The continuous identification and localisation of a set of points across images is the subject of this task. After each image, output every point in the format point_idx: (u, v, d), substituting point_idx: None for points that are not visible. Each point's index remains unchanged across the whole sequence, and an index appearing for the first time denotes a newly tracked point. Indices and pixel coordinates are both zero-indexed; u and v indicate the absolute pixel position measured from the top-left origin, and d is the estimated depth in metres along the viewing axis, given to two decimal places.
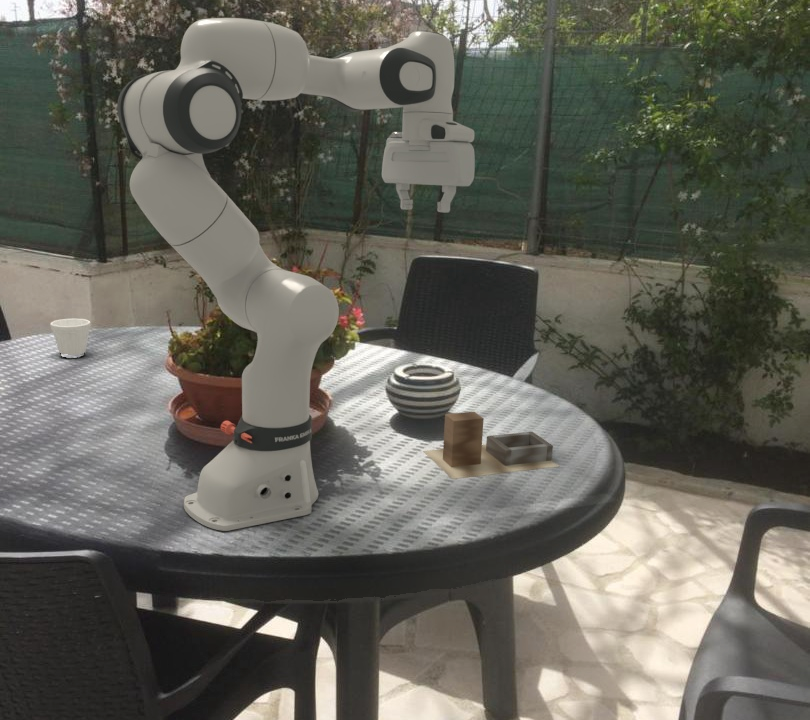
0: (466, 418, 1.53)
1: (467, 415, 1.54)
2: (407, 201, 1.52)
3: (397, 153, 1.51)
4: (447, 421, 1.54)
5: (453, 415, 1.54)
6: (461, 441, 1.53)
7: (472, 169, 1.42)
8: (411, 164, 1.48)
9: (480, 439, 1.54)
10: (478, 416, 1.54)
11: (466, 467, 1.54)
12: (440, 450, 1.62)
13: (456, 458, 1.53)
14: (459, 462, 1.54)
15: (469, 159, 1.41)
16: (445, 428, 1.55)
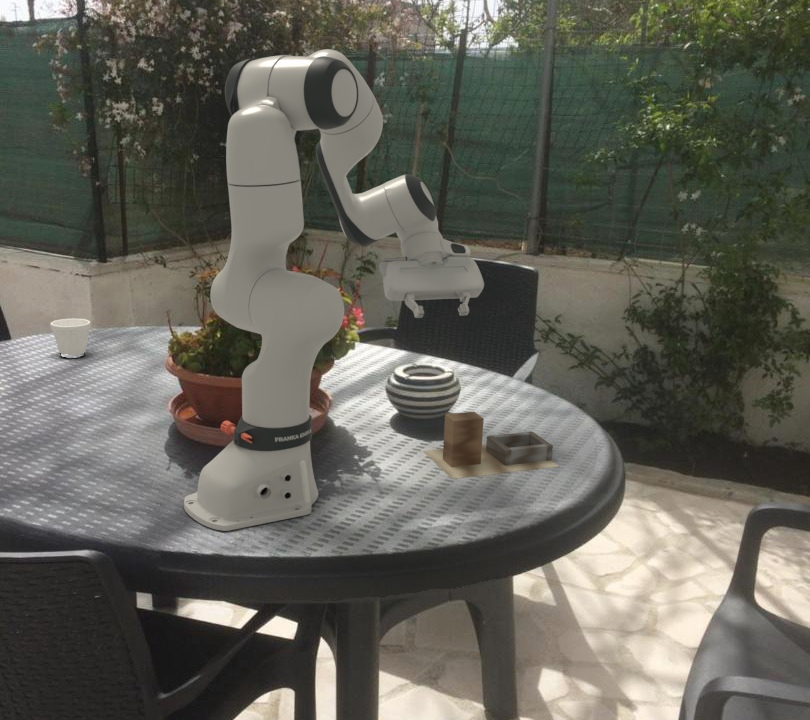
0: (466, 418, 1.53)
1: (467, 415, 1.54)
2: None
3: (404, 269, 1.62)
4: (447, 421, 1.54)
5: (453, 415, 1.54)
6: (461, 441, 1.53)
7: None
8: (426, 275, 1.62)
9: (480, 439, 1.54)
10: (478, 416, 1.54)
11: (466, 467, 1.54)
12: (440, 450, 1.62)
13: (456, 458, 1.53)
14: (459, 462, 1.54)
15: None
16: (445, 428, 1.55)
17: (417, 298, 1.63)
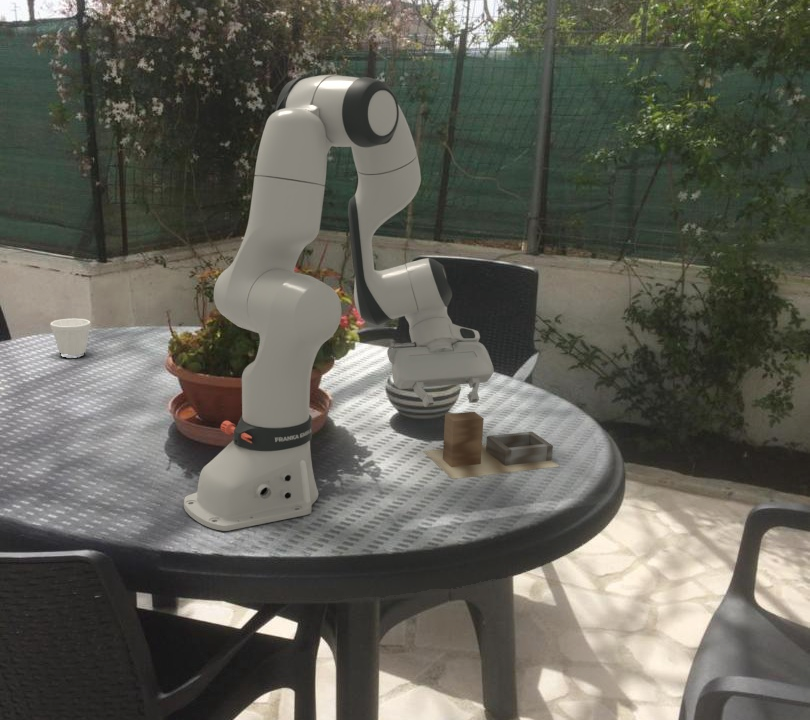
0: (466, 418, 1.53)
1: (467, 415, 1.54)
2: None
3: (413, 356, 1.60)
4: (447, 421, 1.54)
5: (453, 415, 1.54)
6: (461, 441, 1.53)
7: None
8: (435, 363, 1.61)
9: (480, 439, 1.54)
10: (478, 416, 1.54)
11: (466, 467, 1.54)
12: (440, 450, 1.62)
13: (456, 458, 1.53)
14: (459, 462, 1.54)
15: None
16: (445, 428, 1.55)
17: (426, 385, 1.61)
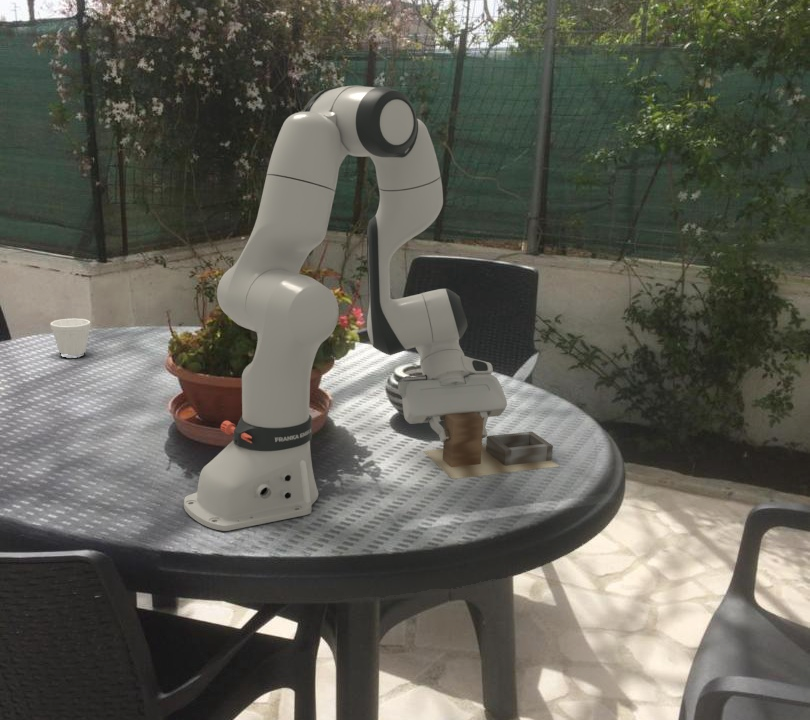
0: (466, 418, 1.53)
1: (467, 415, 1.54)
2: None
3: (424, 390, 1.56)
4: (447, 421, 1.54)
5: (453, 415, 1.54)
6: (461, 441, 1.53)
7: None
8: (447, 396, 1.56)
9: (480, 439, 1.54)
10: (478, 416, 1.54)
11: (466, 467, 1.54)
12: (440, 450, 1.62)
13: (456, 458, 1.53)
14: (459, 462, 1.54)
15: None
16: (445, 428, 1.55)
17: None
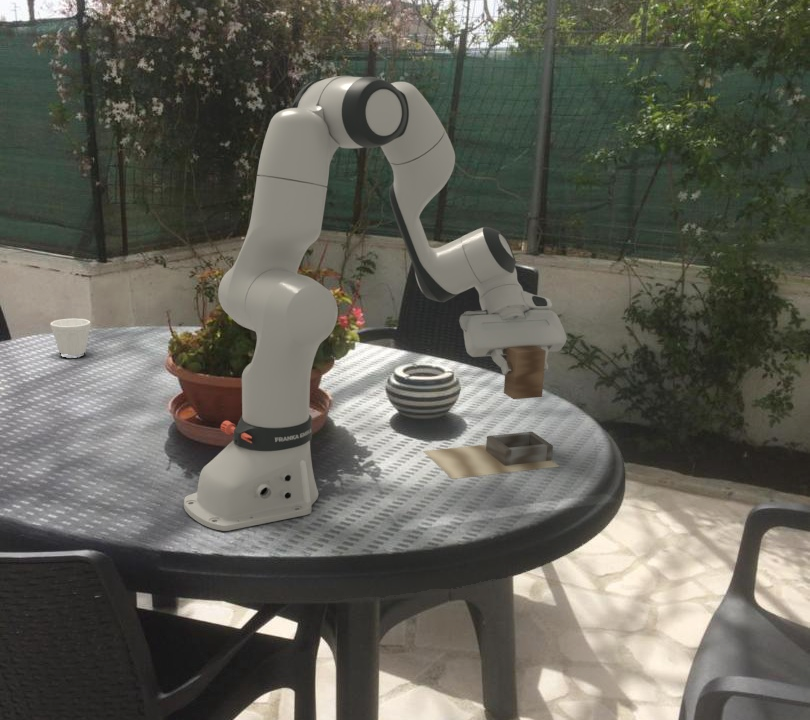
0: (529, 350, 1.54)
1: (529, 348, 1.55)
2: None
3: (486, 323, 1.57)
4: (509, 354, 1.55)
5: (515, 348, 1.55)
6: (524, 373, 1.54)
7: None
8: (508, 330, 1.57)
9: (542, 372, 1.55)
10: (540, 349, 1.55)
11: (466, 467, 1.54)
12: (440, 450, 1.62)
13: (519, 390, 1.55)
14: (521, 394, 1.55)
15: None
16: (507, 361, 1.56)
17: None
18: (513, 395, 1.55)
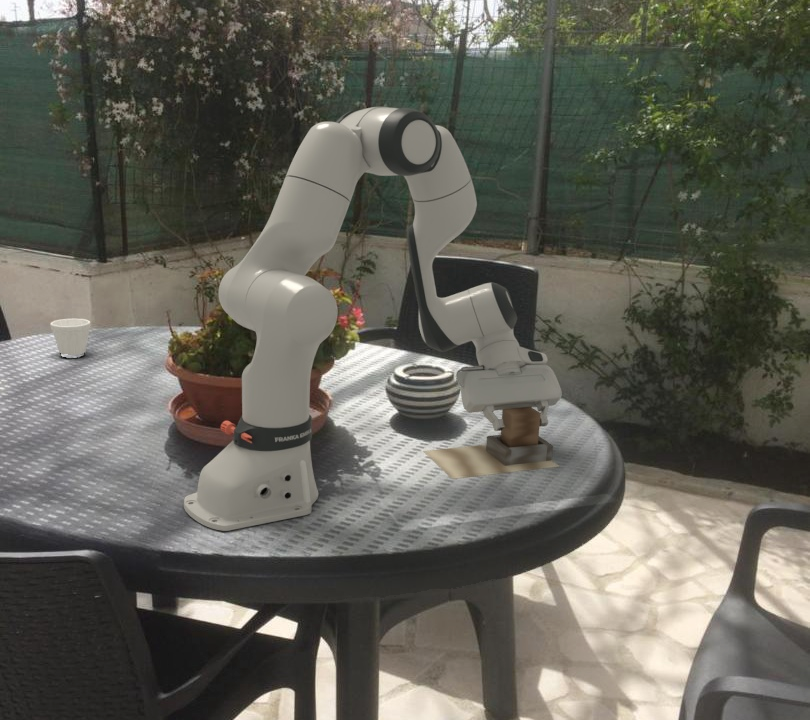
0: (524, 413, 1.57)
1: (524, 410, 1.59)
2: None
3: (483, 379, 1.60)
4: (504, 416, 1.58)
5: (510, 410, 1.58)
6: (519, 435, 1.57)
7: None
8: (504, 386, 1.60)
9: (537, 433, 1.58)
10: (535, 411, 1.58)
11: (466, 467, 1.54)
12: (440, 450, 1.62)
13: None
14: None
15: None
16: None
17: (495, 409, 1.60)
18: None
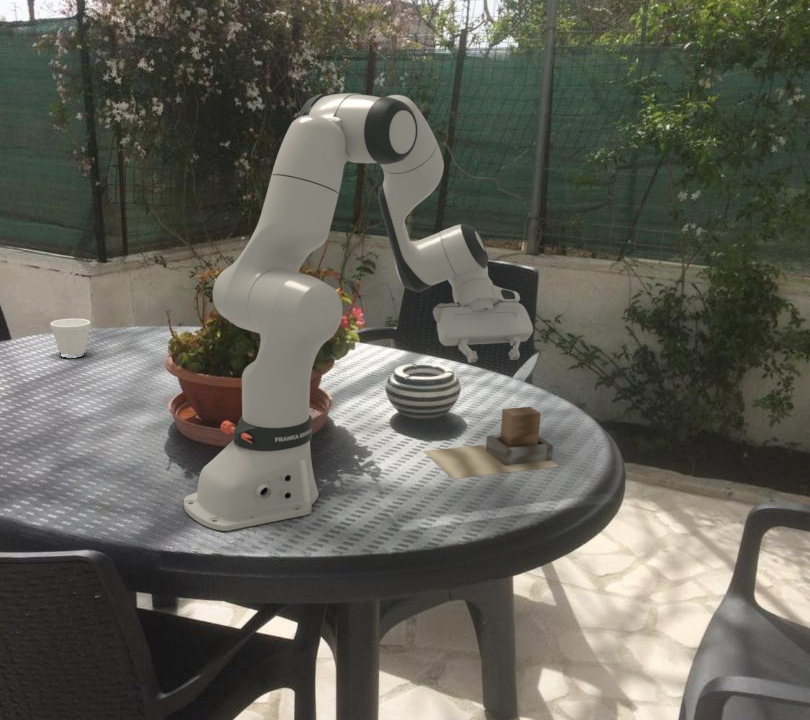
0: (524, 413, 1.57)
1: (524, 410, 1.59)
2: None
3: (458, 315, 1.69)
4: (504, 416, 1.58)
5: (510, 410, 1.58)
6: (519, 435, 1.57)
7: None
8: (478, 321, 1.69)
9: (537, 433, 1.58)
10: (535, 411, 1.58)
11: (466, 467, 1.54)
12: (440, 450, 1.62)
13: None
14: None
15: None
16: (502, 423, 1.59)
17: (470, 343, 1.69)
18: None
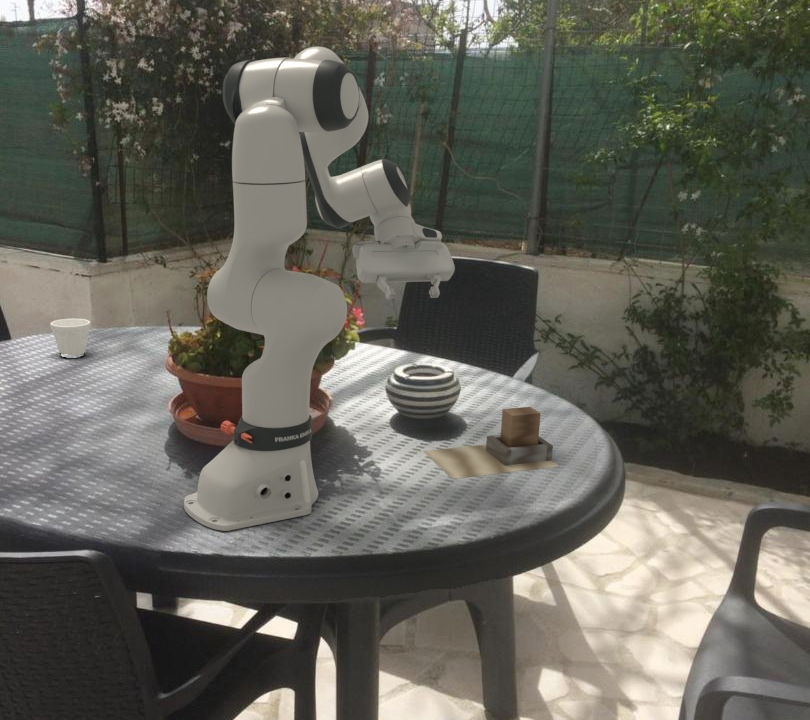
0: (524, 413, 1.57)
1: (524, 410, 1.59)
2: None
3: (377, 252, 1.67)
4: (504, 416, 1.58)
5: (510, 410, 1.58)
6: (519, 435, 1.57)
7: None
8: (397, 258, 1.67)
9: (537, 433, 1.58)
10: (535, 411, 1.58)
11: (466, 467, 1.54)
12: (440, 450, 1.62)
13: None
14: None
15: None
16: (502, 423, 1.59)
17: (389, 280, 1.67)
18: None
